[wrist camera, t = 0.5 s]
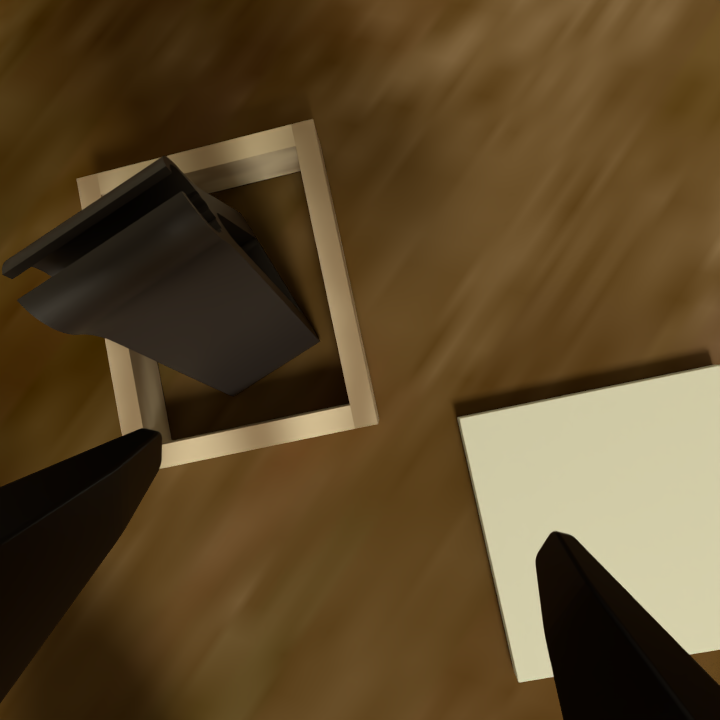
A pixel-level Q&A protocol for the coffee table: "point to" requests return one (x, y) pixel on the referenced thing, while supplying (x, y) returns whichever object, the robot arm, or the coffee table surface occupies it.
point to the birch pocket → (303, 153)
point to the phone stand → (168, 281)
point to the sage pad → (605, 500)
